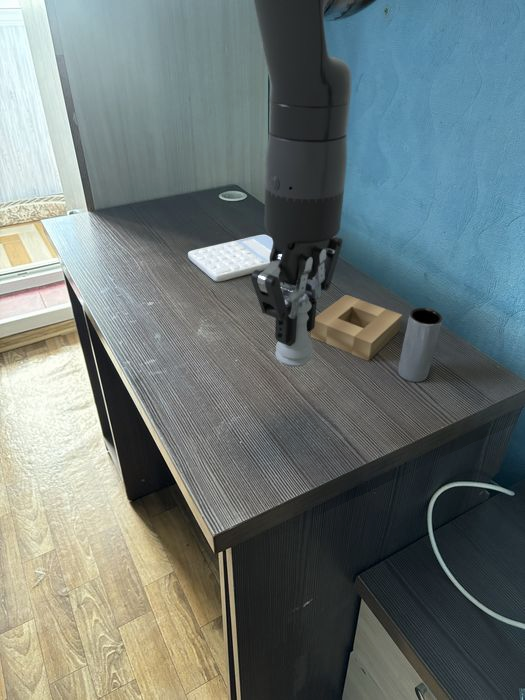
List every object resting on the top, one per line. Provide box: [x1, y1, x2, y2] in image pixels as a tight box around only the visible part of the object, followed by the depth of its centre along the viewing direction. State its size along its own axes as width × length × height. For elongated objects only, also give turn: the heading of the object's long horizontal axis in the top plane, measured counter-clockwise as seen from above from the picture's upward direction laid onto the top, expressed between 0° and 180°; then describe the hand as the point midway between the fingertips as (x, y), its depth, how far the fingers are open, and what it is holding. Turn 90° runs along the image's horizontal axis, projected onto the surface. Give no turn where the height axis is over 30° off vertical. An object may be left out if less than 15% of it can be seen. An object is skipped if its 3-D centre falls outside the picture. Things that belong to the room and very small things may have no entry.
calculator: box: [187, 234, 273, 283], centre depth 110 cm, size 13×20×2 cm, turn 122°
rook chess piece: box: [274, 294, 314, 368], centre depth 58 cm, size 4×4×8 cm
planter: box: [397, 307, 443, 383], centre depth 76 cm, size 4×4×10 cm
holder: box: [310, 294, 403, 362], centre depth 87 cm, size 11×11×4 cm
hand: (295, 334), depth 59 cm, fingers closed on rook chess piece, 3 cm apart
